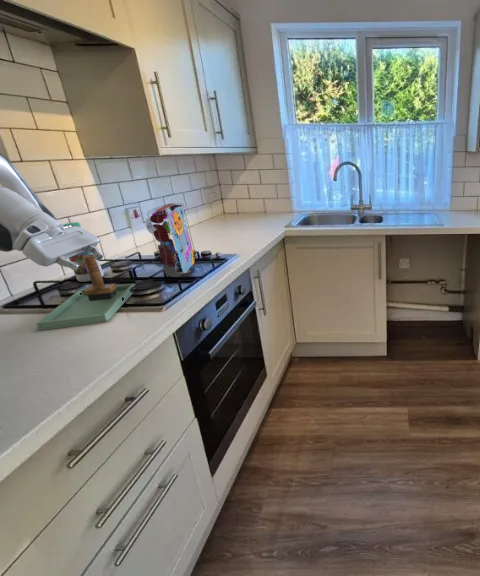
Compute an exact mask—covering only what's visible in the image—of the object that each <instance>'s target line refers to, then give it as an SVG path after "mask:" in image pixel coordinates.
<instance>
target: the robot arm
mask: <svg viewBox="0 0 480 576" xmlns="http://www.w3.org/2000/svg"><path fill="white" fill-rule="evenodd" d="M63 225H64V224H62V223H61V222H60V221H58V219H57V217H56V216H55V215H54V213H53V212H52V211H50V210H49V208H47V207H46V206H45V204H44V203H43V202H42V201H41V199H40V198H39V197H38V195H37V194H36V193H35V191H34V190H33V188H31V186H30V185H29V183H28V182H27V181H26V178H25V177H23V175H22V174H21V173H20V171H19V169H18V168H17V167H16V166H15V165H14V164H13V162H11V160H9V159H8V157H6V156H5V155H3V154H2V153H0V252H4V253H5V252H6V253H9V252H12V251H17V252H21V253H22V254H23V255H24V256H25V257H26V258H27V259H28V260H30V261H32V262H33V263H35V264H37V265H38V266H40V267H41V266H42V267H49V266H52V265H54V264H57V265H59V266H62V267H64V268H69V269H71V270H72V271H73V272H74V271H75V270H78V269H79V268H80V267H81V265H80V264H78V263H77V262H72V261H70V260H69V258H70V257H72V256H75V255H77V254H80V253H82V252H85V251H88V252H89V253H90V252H92V254H93V255H94V256H95V259H96V260H99V261H100V260H102V259H103V258H104V254H103V253H101V252H100V251H99V249H98V247H97V246H98V244H100V243H99V242H100V239H99V238H98V236H96V235H95V234H93V233H92V232H90V231H88V230H86V229H85V228H83V227H82V226H81V227H78V226H71V225H66V226H63Z"/></svg>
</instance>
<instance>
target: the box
mask: <svg viewBox="0 0 480 576" xmlns="http://www.w3.org/2000/svg"><path fill="white" fill-rule="evenodd" d="M184 208H185V206H184V203H182V202H181V203H180V202H177V203H175V202H173V203H172V202H171V203H166V204H163V205H160V206H159V207H154V208H153V212H152V209H150V210H148V212H147V214H146V215H147V218H146V219H145V228H146V230H147V231H148V233H150V234H151V235H152V239H153V243H154V245H155V248H156V251H157V253H158V258H159V262H160V263H161V264H160V265H161V269H162V271H163V275H164V276H165V277H166V278H167V281H169V282H172V280H171V279H170V278H172V277H175V276H176V275H177V273H178V274H179V271H181V274H182V275H184V274H185V273H187V274H186V276H185V277H184V278H182V279H178V280H176V282H179V281H182V280H184V279H186V277H187V276H189V275H190V274H191V272H192V271H194V270H195V269H196V268H197V266H194V264H195V263H196V264H197V260H198V258H197V257H195V255H197V253H196V251H195V246H193V245H194V241H193V240H191V239H192V235H191V233H189V232H191V231H190V229H188V228H190V226H189V221H188V219H187V218H188V217H187V215H186V214H185V213H186V210H185V209H184ZM167 210H168V211H167ZM149 215H151V216H149ZM166 220H167V221H166ZM170 234H171V235H172V238H173V239H171V236H170ZM156 241H157V242H158V243H159V244H156ZM178 261H179V265H178ZM177 265H178V266H177ZM193 266H194V267H193ZM179 267H180V269H178V268H179ZM191 267H193V268H192V269H191ZM190 269H191V270H190Z"/></svg>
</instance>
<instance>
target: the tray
mask: <svg viewBox="0 0 480 576" xmlns="http://www.w3.org/2000/svg"><path fill="white" fill-rule="evenodd" d="M134 286H136V283H126V284H117V285H116V289H115V291H116V295H115V296H114V297H113V298H112V299H104V300H94V301H89V298H88V295H85V294H84V290H85V289H86V288H82V289H81V288H80V289H78V291H76V292H74V294H72V295H71V296H69V297H68V298H66V299H65V300H64V301H63V302H62V303H60V304H59V305H58V306H56V307H55V308H54V309H53V310H51V311H50V312H49V313H48V314H46V315H45V316H43V318H41V319H40V320H38V321H37V322H36V326H37V328H38V331H44V330H45V331H46V330H53V329H60V328H68V327H74V326H83V325H84V326H85V325H91V324H98V323H106V322H108V321H109V320H110V319H111V318H112V317H113V316H114V315H115V314H116V312H118V310H119V309H120V308H121V307H122V306H123V305H124V304H125V303H126V301H127V300H129V299H130V297H131V296H132V295H133V294H134V293H131V292H130V289H131V288H132V287H134ZM80 293H82V294H81V295H80ZM122 297H123V298H124V300H123V301H122Z"/></svg>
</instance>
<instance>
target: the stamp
mask: <svg viewBox="0 0 480 576" xmlns="http://www.w3.org/2000/svg"><path fill="white" fill-rule="evenodd" d="M83 260H84V263H85V265H86V268H87V271H88V273H89V276H90V279H91V281H90V283H91V284H92V285H89V286H88V287H86V288H84V289H85V290H84V294H85V295H88V298H89V301H94V300H104V299H112V298H113V297H114V296H115V295H116V291H115V289H116V286H117V285H116V283H106V284H105V281H104V278H103V277H102V276H101V273H100V270H99V267H98V264H97V262H96V259H95V256H94V255H86V256H83Z"/></svg>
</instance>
